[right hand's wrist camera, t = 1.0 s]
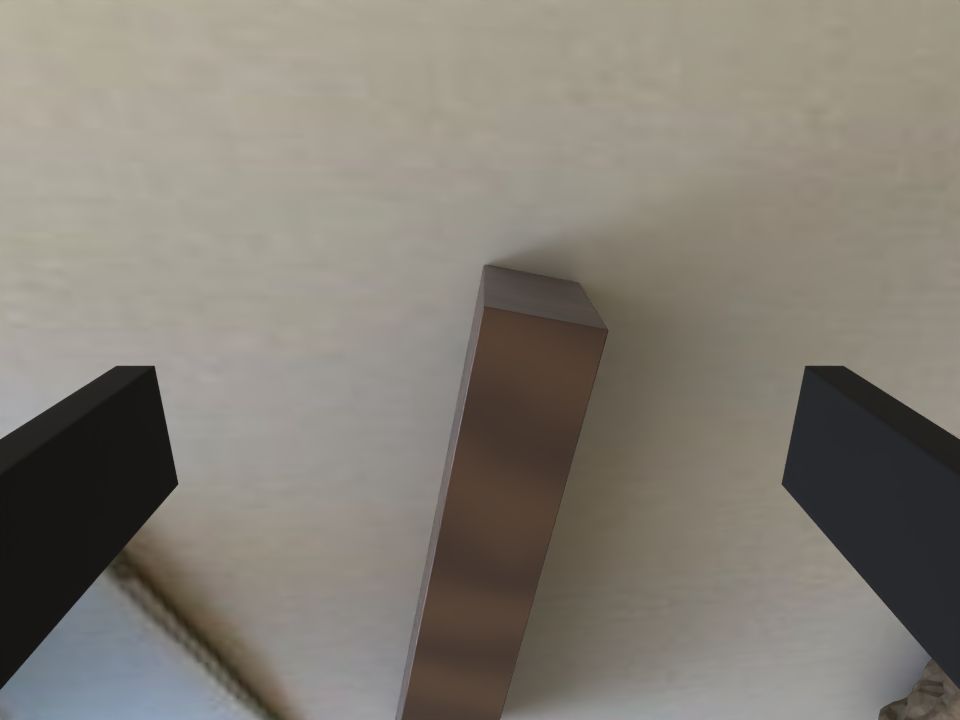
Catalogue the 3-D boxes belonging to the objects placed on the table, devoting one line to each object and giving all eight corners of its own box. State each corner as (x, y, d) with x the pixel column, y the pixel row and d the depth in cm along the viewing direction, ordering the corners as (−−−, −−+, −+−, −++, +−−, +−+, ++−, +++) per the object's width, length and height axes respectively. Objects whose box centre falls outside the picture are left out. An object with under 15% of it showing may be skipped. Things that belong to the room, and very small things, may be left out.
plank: (483, 264, 31) (483, 306, 23) (579, 282, 31) (609, 329, 24) (396, 714, 42) (376, 841, 34) (467, 725, 42) (462, 853, 35)
